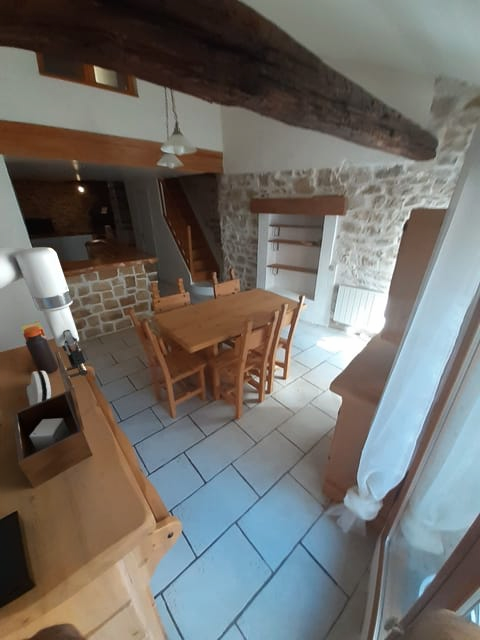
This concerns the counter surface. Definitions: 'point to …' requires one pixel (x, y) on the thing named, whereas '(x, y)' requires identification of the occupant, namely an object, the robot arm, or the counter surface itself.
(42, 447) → the product box
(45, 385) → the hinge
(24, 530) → the counter surface
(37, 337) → the bottle
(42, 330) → the baking soda box
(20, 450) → the chest
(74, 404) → the lid
